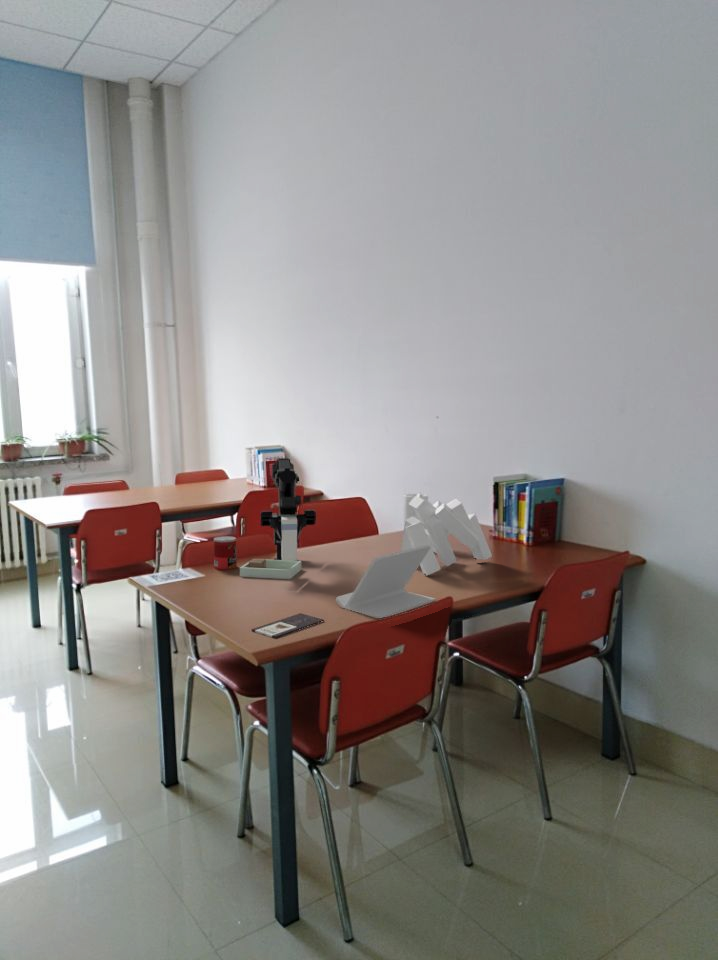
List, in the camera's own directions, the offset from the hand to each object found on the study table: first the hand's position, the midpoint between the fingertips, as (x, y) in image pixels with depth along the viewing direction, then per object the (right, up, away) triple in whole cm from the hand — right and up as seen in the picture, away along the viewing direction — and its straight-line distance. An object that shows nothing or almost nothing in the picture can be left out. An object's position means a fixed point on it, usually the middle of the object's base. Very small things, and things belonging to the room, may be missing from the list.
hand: (289, 538), depth 238 cm
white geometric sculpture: (+53, -12, +17) cm, 57 cm away
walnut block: (-12, -12, +8) cm, 19 cm away
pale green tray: (-7, -13, +7) cm, 16 cm away
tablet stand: (+31, -17, -27) cm, 45 cm away
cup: (+46, -8, +51) cm, 69 cm away
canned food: (-24, -12, +15) cm, 31 cm away
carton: (0, -7, +2) cm, 7 cm away
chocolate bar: (+5, -20, -48) cm, 52 cm away
